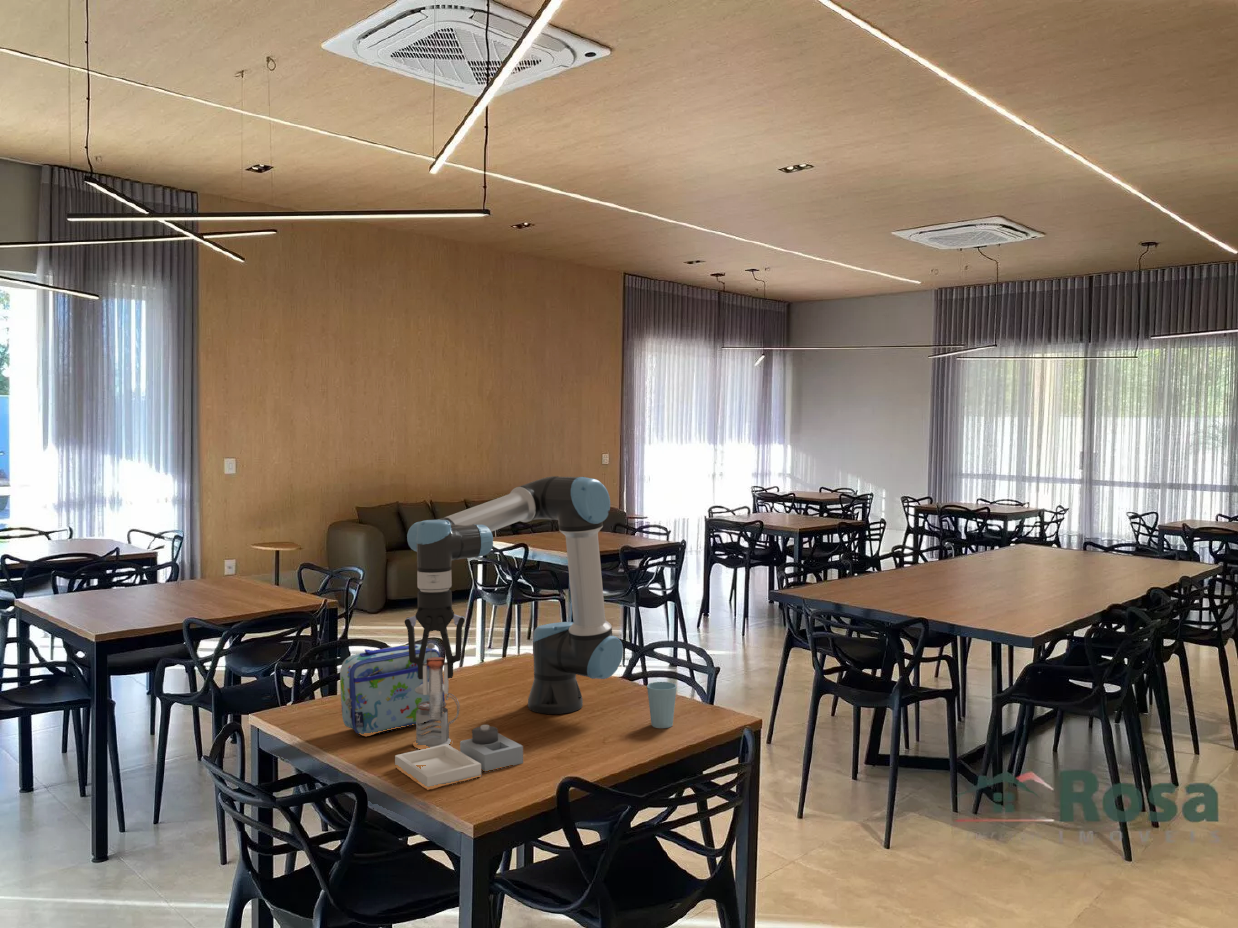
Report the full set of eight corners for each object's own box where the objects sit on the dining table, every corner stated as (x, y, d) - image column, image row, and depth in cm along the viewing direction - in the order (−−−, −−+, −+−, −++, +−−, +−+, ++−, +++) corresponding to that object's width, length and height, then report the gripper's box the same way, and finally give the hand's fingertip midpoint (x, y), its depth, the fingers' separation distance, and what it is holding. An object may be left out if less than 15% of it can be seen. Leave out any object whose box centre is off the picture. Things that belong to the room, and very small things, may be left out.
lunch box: (352, 742, 238) (350, 658, 237) (337, 731, 247) (335, 650, 246) (448, 722, 254) (446, 643, 253) (430, 712, 262) (429, 636, 261)
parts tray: (395, 768, 220) (395, 755, 220) (446, 756, 228) (446, 743, 227) (427, 790, 206) (427, 776, 206) (481, 777, 214) (481, 763, 214)
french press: (417, 737, 242) (415, 638, 241) (463, 737, 242) (461, 638, 240) (407, 750, 232) (405, 647, 231) (455, 750, 232) (453, 647, 231)
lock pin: (424, 716, 217) (423, 658, 216) (440, 713, 219) (439, 656, 218) (431, 721, 213) (431, 662, 213) (448, 717, 216) (447, 659, 215)
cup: (682, 727, 248) (681, 687, 247) (655, 731, 245) (655, 690, 244) (668, 719, 255) (668, 680, 254) (642, 723, 252) (642, 683, 251)
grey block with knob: (460, 757, 226) (459, 726, 226) (497, 749, 232) (497, 718, 232) (484, 772, 217) (484, 740, 216) (523, 762, 223) (522, 731, 222)
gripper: (393, 593, 210) (395, 698, 211) (472, 591, 212) (473, 696, 213) (397, 587, 218) (399, 689, 219) (473, 585, 220) (474, 686, 221)
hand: (435, 692), depth 216 cm, fingers closed on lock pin, 4 cm apart
